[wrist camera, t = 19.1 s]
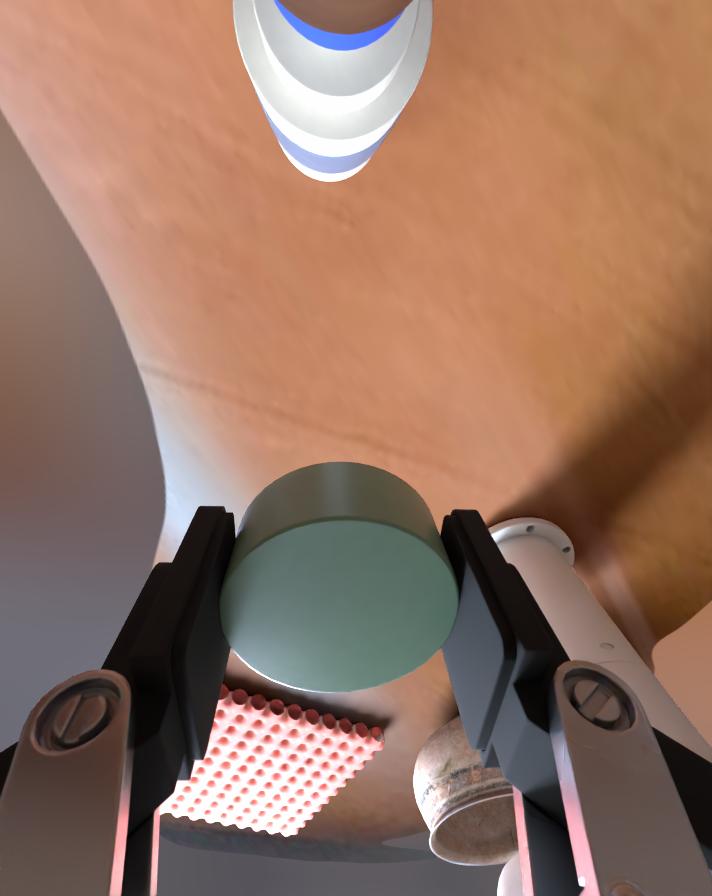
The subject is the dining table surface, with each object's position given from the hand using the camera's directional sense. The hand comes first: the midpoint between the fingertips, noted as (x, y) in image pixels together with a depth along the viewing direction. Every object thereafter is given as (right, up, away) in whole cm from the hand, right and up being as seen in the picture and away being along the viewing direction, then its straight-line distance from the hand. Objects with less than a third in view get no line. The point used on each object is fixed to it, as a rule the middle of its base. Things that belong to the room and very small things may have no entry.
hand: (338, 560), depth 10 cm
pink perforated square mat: (-15, -42, +50) cm, 67 cm away
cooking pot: (+17, -37, +50) cm, 65 cm away
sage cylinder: (0, 0, 0) cm, 1 cm away
